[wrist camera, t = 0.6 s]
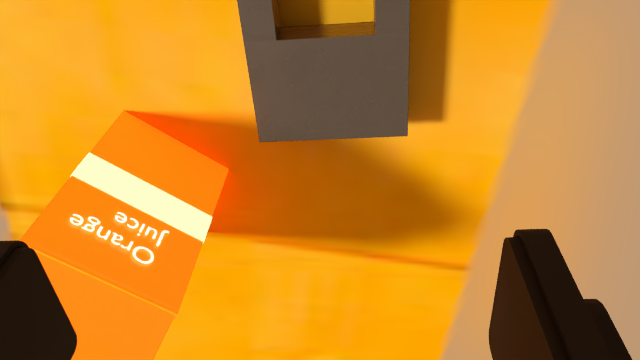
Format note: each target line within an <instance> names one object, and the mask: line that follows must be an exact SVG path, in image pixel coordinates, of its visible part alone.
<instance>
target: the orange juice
mask: <svg viewBox="0 0 640 360" xmlns="http://www.w3.org/2000/svg"><path fill="white" fill-rule="evenodd" d="M228 171H229V169H228V168H226V167H224V166H223V165H221V164H219V163H217V162H215V161H214V160H212V159H210V158H208V157H207V156H205V155H203V154H201V153H199V152H198V151H196V150H194V149H192V148H190V147H189V146H187V145H185V144H183V143H181V142H180V141H178V140H176V139H174V138H172V137H171V136H169V135H167V134H165V133H163V132H162V131H160V130H158V129H156V128H154V127H153V126H151V125H149V124H147V123H145V122H144V121H142V120H140V119H138V118H136V117H135V116H133V115H131V114H129V113H127V112H126V111H123V112H122V113H121V114H120V116H119V117H118V118H117V119H116V121H115V122H114V123H113V124H112V126H111V127H110V128H109V129H108V131H107V132H106V133H105V134H104V136H103V137H102V138H101V139H100V141H99V142H98V143H97V144H96V146H95V147H94V148H93V149H92V151H91V152H89V153H88V154H87V156H86V157H85V158H84V159H83V160H82V162H81V163H80V164H79V165H78V167H77V168H76V169H75V170H74V172H73V173H72V174H71V176H70V178H69V179H68V181H67V182H66V183H65V184H64V186H63V187H62V188H61V189H60V191H59V192H58V193H57V194H56V196H55V197H54V198H53V199H52V201H51V202H50V203H49V204H48V206H47V207H46V208H45V209H44V211H43V212H42V213H41V214H40V215H39V217H38V218H37V219H36V220H35V222H34V223H33V224H32V225H31V227H30V228H29V229H28V230H27V232H26V233H25V234H24V235H23V237H22V238H21V239H20V240H19V241H23V242H25V243H26V244H27V245H28V247H29V248H32V249H34V250H35V252H36V253H37V255H38V257H39V260H40V262H41V264H42V266H43V268H44V270H45V272H46V274H47V276H48V278H49V280H50V282H51V284H52V286H53V288H54V290H55V292H56V294H57V296H58V298H59V300H60V302H61V304H62V306H63V308H64V310H65V312H66V314H67V316H68V318H69V320H70V322H71V324H72V326H73V328H74V330H75V332H76V335H77V347H76V350H75V353H74V355H73V357H72V358H71V360H153V359H154V357H155V355H156V353H157V351H158V349H159V347H160V345H161V343H162V341H163V339H164V337H165V335H166V333H167V331H168V329H169V327H170V324H171V322H172V321H173V319H174V318H175V317H176V315H177V314H178V311H179V308H180V305H181V302H182V300H183V297H184V294H185V291H186V288H187V286H188V283H189V280H190V277H191V274H192V272H193V269H194V266H195V263H196V260H197V258H198V255H199V252H200V249H201V246H202V244H203V242H204V240H205V238H206V235H207V232H208V229H209V226H210V223H211V221H212V218H213V217H212V216H213V213H214V210H215V207H216V204H217V202H218V199H219V196H220V193H221V190H222V188H223V185H224V182H225V179H226V176H227V174H228Z"/></svg>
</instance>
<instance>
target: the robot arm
mask: <svg viewBox="0 0 640 360" xmlns="http://www.w3.org/2000/svg"><path fill="white" fill-rule="evenodd" d="M489 345H490V350H491V354H492V358H493V360H632V358H631V357H630V355H629V353H628V351H627V349H626V347H625V345H624V343H623V341H622V339H621V337H620V335H619V333H618V331H617V330H616V328H615V326H614V324H613V322H612V320H611V318H610V316H609V314H608V312H607V310H606V309H605V307H604V306H603V304H602V303H601V302H600V301H598V300H597V299H583V297H582V295H581V293H580V291H579V290H578V287H577V285H576V283H575V281H574V279H573V277H572V275H571V273H570V271H569V269H568V267H567V265H566V262H565V260H564V258H563V256H562V254H561V252H560V250H559V248H558V246H557V244H556V242H555V240H554V237H553V235H552V234H551V232H550V231H549V230H548V229H526V230H516V231H515V233H514V236H513V237H511V238H505V239H504V243H503V249H502V255H501V261H500V267H499V273H498V279H497V285H496V291H495V297H494V304H493V310H492V316H491V323H490V328H489ZM76 347H77V335H76V332H75V330H74V328H73V326H72V324H71V322H70V320H69V318H68V316H67V314H66V312H65V310H64V308H63V306H62V304H61V302H60V300H59V298H58V296H57V294H56V292H55V290H54V288H53V286H52V284H51V282H50V280H49V278H48V276H47V274H46V272H45V270H44V268H43V266H42V264H41V262H40V260H39V257H38V255H37V253H36V252H35V250H34V249H32V248H29V247H28V245H27V244H26V243H25V242H23V241H0V360H71V358H72V357H73V355H74V353H75V350H76Z"/></svg>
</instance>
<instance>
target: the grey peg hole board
mask: <svg viewBox="0 0 640 360" xmlns="http://www.w3.org/2000/svg"><path fill="white" fill-rule="evenodd" d="M237 2H238V8H239V15H240V21H241V27H242V34H243V40H244V46H245V52H246V59H247V65H248V71H249V78H250V84H251V90H252V97H253V103H254V109H255V115H256V122H257V128H258V134H259V141H260V142H274V141H298V140H322V139H347V138H371V137H395V136H407V135H408V82H409V29H410V0H374V22H363V23H347V24H330V25H313V26H296V27H281V24H280V16H279V7H278V0H237Z"/></svg>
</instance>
